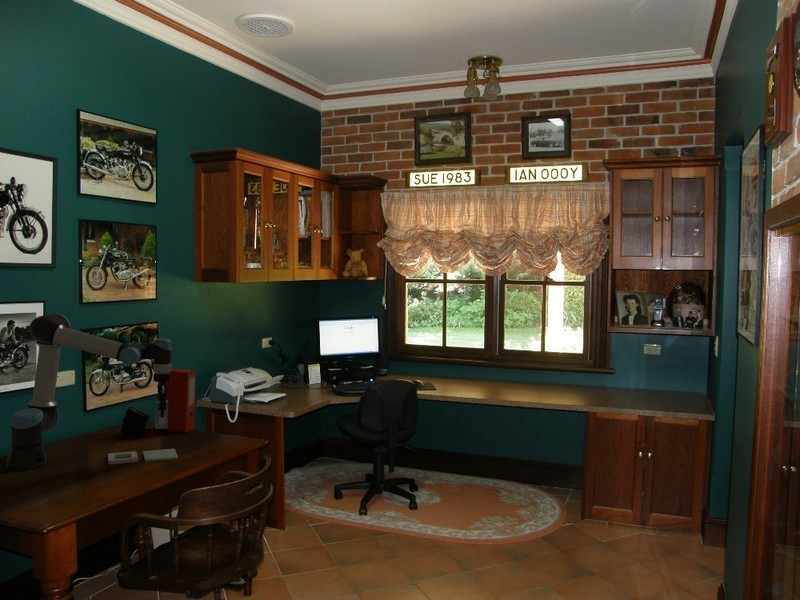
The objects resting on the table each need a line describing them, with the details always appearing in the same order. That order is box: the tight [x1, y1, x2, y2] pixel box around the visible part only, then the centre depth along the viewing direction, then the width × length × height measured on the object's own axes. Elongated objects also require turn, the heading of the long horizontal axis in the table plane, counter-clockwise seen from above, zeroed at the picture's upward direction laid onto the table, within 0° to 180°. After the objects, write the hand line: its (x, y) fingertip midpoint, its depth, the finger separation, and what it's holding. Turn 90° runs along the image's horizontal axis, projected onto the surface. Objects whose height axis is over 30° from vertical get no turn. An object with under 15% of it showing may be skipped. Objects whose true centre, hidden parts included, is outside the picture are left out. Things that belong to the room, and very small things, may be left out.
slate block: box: [154, 400, 168, 430], centre depth 296 cm, size 5×5×12 cm
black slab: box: [119, 406, 150, 438], centre depth 328 cm, size 4×13×15 cm, turn 88°
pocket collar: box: [107, 451, 139, 465], centre depth 290 cm, size 12×12×2 cm
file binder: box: [159, 368, 197, 433], centre depth 344 cm, size 8×17×32 cm, turn 75°
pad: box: [142, 448, 179, 463], centre depth 297 cm, size 14×14×1 cm
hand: (161, 422), depth 296 cm, fingers closed on slate block, 5 cm apart
